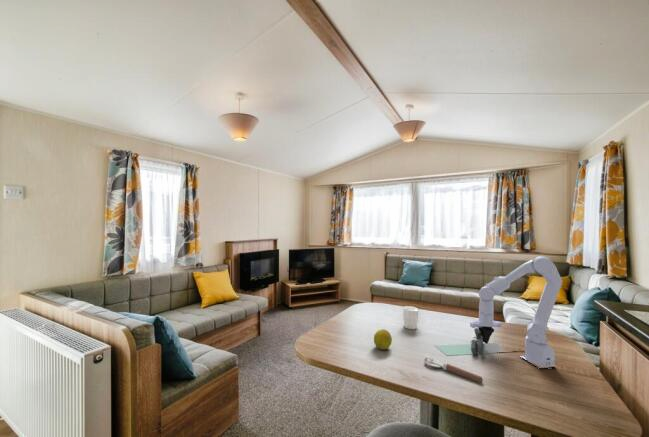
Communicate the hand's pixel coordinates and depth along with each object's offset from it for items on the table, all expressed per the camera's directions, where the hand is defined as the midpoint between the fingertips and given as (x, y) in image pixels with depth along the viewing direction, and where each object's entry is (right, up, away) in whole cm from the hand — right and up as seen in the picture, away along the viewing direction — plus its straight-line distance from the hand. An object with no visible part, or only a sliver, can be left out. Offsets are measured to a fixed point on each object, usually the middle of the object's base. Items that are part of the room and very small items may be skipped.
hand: (485, 342), depth 124 cm
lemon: (-48, -2, -2) cm, 48 cm away
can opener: (-4, -2, -1) cm, 4 cm away
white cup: (-27, -2, +23) cm, 36 cm away
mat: (-3, -3, 0) cm, 4 cm away
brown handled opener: (-25, -2, -20) cm, 32 cm away
